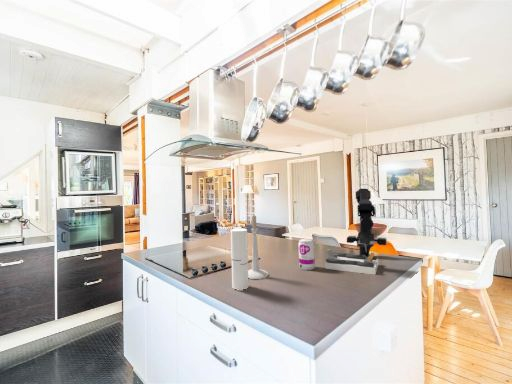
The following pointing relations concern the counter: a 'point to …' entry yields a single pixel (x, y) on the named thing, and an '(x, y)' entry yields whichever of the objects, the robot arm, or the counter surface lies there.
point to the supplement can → (306, 254)
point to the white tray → (352, 267)
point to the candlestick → (255, 256)
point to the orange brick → (370, 256)
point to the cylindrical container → (239, 259)
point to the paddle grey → (330, 253)
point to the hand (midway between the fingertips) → (366, 256)
